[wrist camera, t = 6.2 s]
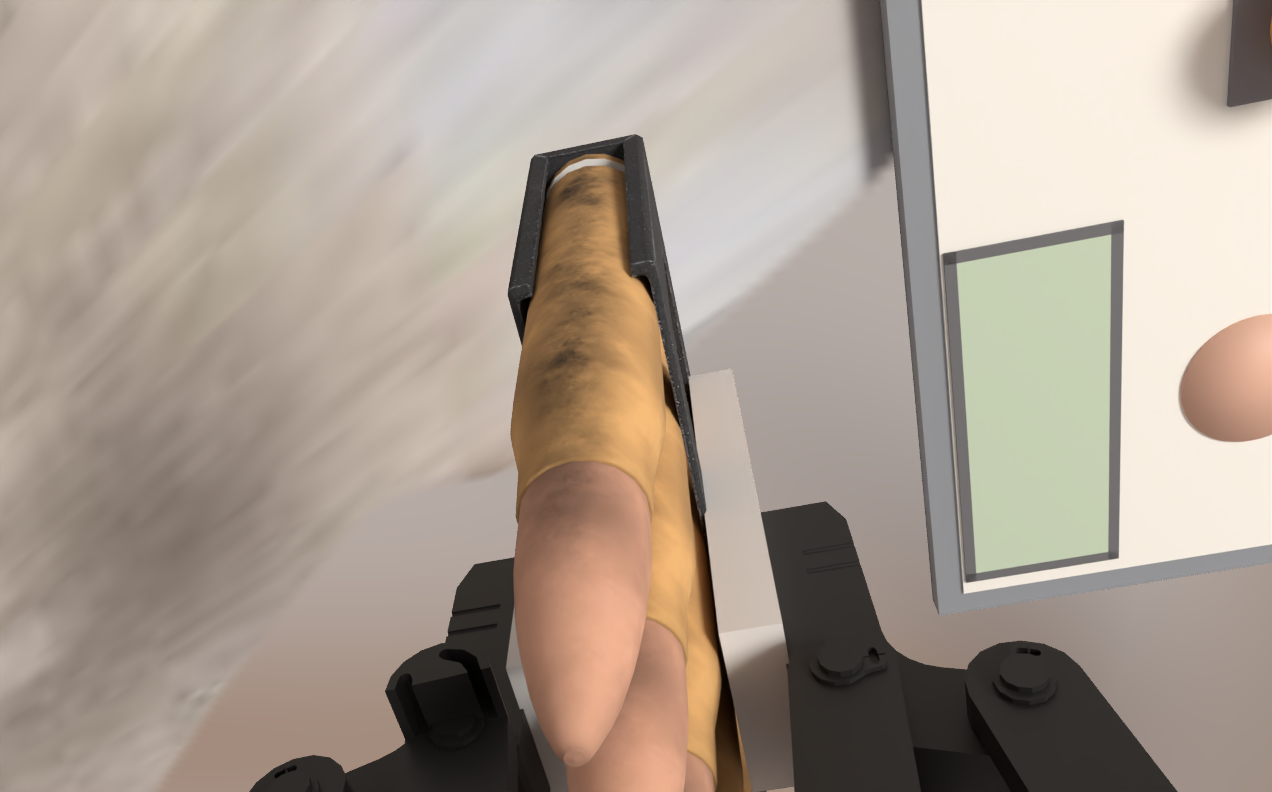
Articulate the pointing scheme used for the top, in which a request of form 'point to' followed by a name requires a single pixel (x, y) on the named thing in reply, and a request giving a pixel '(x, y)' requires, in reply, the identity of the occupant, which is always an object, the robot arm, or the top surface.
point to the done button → (1271, 31)
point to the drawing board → (1086, 287)
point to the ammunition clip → (612, 491)
